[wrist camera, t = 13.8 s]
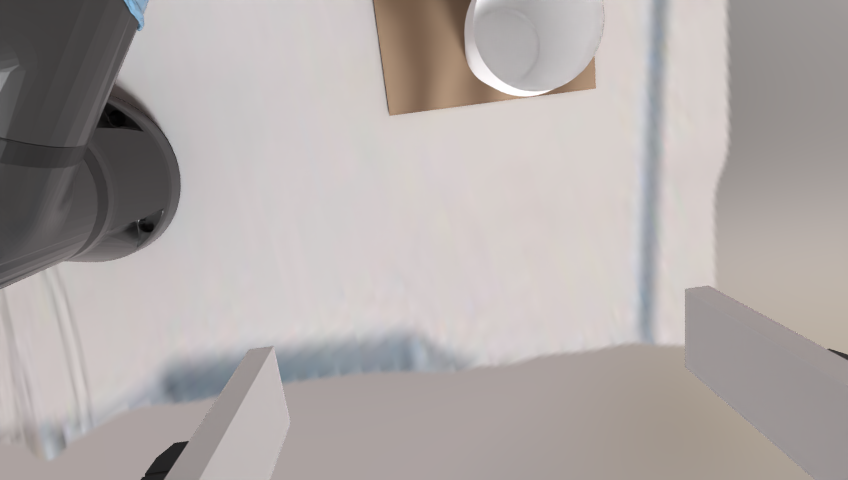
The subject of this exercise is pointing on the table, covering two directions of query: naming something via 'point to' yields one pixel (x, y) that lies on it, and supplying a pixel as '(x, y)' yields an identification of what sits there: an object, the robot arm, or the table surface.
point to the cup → (531, 42)
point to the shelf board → (437, 58)
